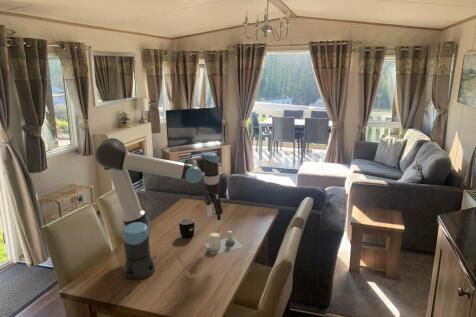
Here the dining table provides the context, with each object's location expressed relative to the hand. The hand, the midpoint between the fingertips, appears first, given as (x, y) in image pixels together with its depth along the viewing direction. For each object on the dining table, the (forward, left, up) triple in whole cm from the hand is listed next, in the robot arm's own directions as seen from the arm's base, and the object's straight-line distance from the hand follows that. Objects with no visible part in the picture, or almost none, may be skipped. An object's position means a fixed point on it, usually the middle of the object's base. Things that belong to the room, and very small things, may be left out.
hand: (214, 220), depth 192 cm
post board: (+5, 0, -17) cm, 17 cm away
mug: (-8, +22, -17) cm, 29 cm away
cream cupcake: (0, 0, -16) cm, 16 cm away
